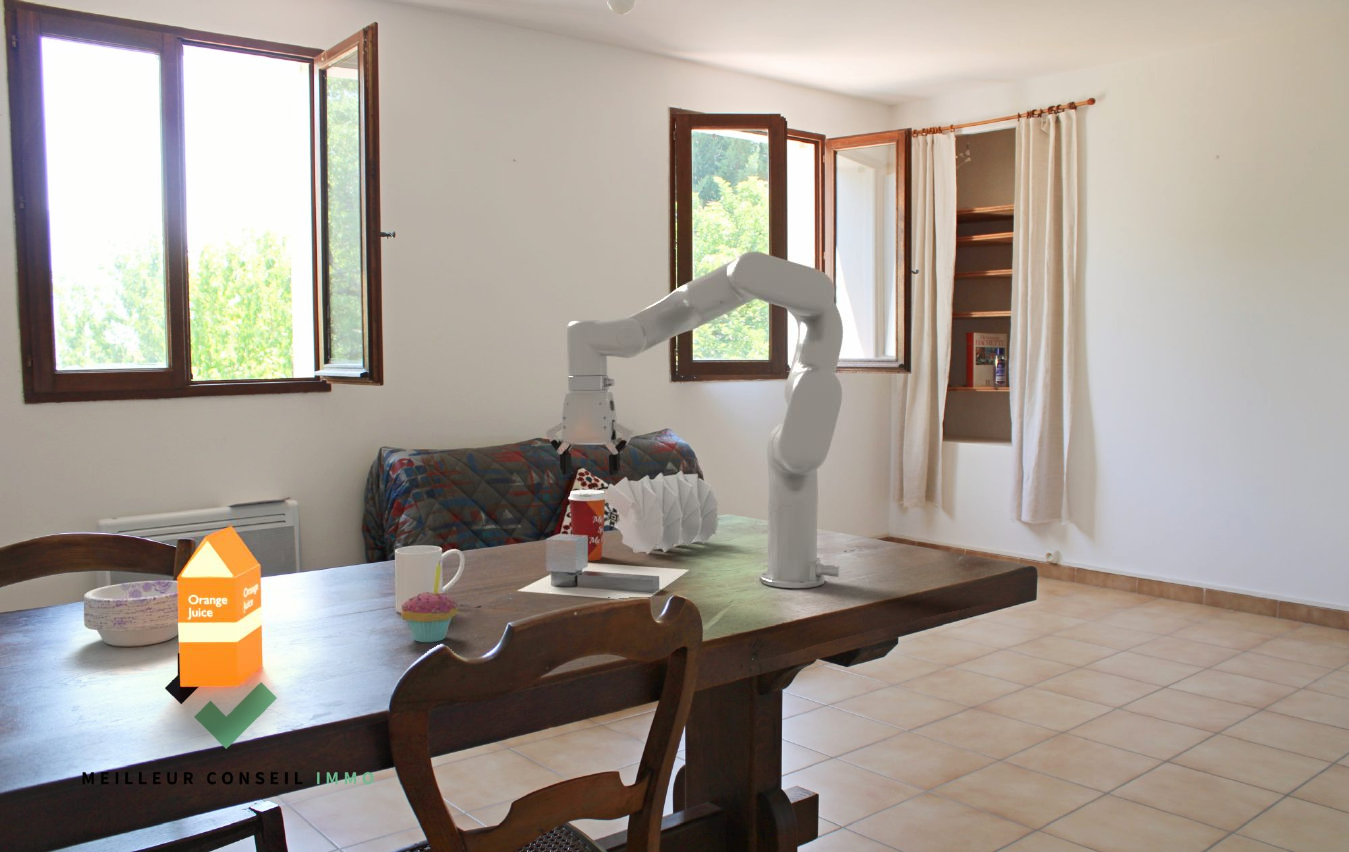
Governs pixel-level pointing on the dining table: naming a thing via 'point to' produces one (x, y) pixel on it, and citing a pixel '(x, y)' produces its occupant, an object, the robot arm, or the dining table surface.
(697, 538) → the white pleated paper lantern
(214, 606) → the orange juice
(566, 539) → the light gray cube
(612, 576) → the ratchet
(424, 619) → the cupcake
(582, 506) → the coffee cup
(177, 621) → the paper bowls
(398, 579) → the mug
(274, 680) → the dining table surface
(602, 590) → the white square board
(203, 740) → the dining table surface
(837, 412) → the robot arm
